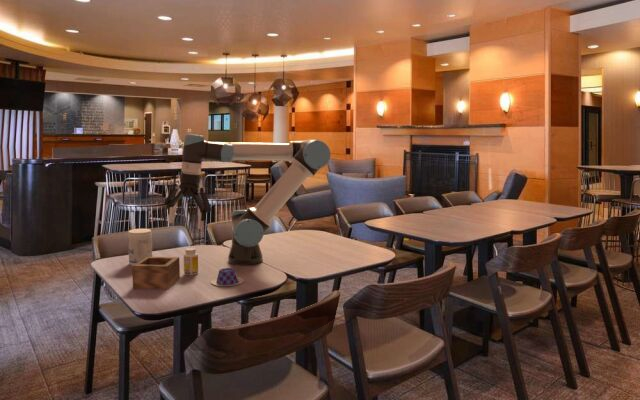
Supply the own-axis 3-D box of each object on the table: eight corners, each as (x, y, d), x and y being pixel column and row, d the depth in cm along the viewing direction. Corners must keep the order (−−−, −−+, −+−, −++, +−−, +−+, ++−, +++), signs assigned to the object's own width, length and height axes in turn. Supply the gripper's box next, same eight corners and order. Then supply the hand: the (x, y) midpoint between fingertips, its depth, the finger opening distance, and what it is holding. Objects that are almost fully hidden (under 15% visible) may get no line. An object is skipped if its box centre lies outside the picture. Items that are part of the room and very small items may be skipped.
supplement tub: (125, 263, 205) (123, 230, 203) (145, 259, 212) (143, 227, 210) (136, 268, 199) (135, 233, 197) (157, 263, 206) (155, 230, 204)
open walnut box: (179, 278, 186) (179, 257, 184) (168, 289, 173) (167, 266, 172) (147, 277, 186) (146, 256, 185) (132, 288, 173) (131, 265, 172)
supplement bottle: (198, 271, 195) (198, 247, 194) (197, 275, 190) (197, 250, 188) (184, 272, 194) (184, 247, 193) (183, 276, 189) (182, 250, 187)
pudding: (204, 283, 181) (204, 269, 180) (230, 276, 190) (230, 263, 189) (223, 290, 173) (223, 276, 172) (249, 282, 182) (249, 269, 181)
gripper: (158, 169, 189) (153, 221, 191) (213, 177, 181) (207, 232, 184) (170, 169, 196) (165, 219, 198) (223, 177, 188) (217, 229, 191)
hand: (185, 225), depth 191 cm, fingers open, 13 cm apart
